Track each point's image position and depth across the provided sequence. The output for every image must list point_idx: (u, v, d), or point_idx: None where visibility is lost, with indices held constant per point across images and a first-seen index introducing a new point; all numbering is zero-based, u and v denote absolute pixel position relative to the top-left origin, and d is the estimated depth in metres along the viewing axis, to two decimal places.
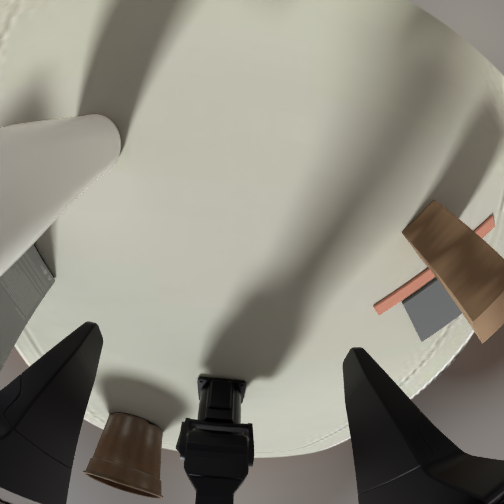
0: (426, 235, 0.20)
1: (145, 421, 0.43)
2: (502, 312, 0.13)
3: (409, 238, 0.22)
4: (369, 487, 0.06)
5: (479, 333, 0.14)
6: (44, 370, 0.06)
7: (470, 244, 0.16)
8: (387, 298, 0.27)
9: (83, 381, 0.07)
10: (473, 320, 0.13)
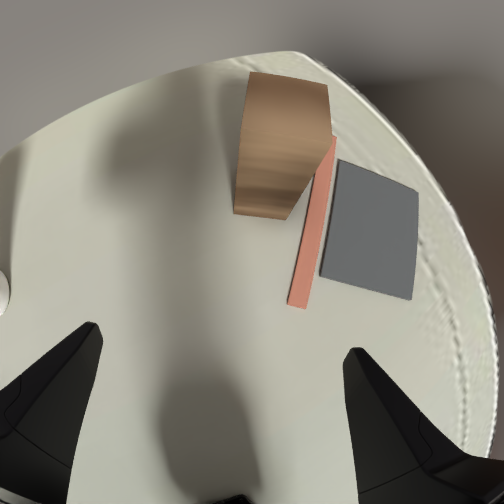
0: None
1: None
2: (296, 101, 0.13)
3: (234, 206, 0.23)
4: (370, 487, 0.06)
5: (290, 133, 0.13)
6: (44, 369, 0.06)
7: None
8: (292, 283, 0.23)
9: (83, 381, 0.07)
10: (241, 127, 0.12)
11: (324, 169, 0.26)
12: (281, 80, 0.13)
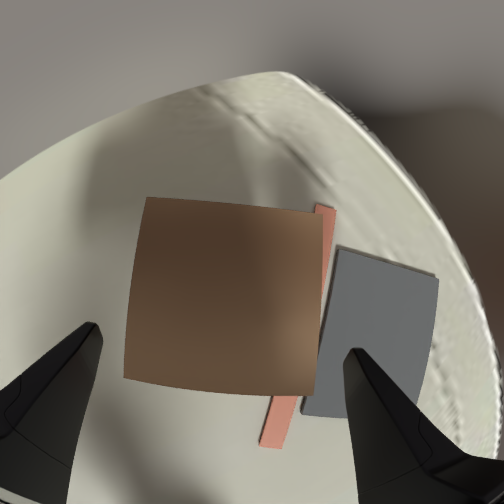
0: None
1: None
2: (242, 289, 0.06)
3: None
4: (369, 487, 0.06)
5: (223, 388, 0.06)
6: (44, 370, 0.06)
7: None
8: (265, 424, 0.16)
9: (83, 381, 0.07)
10: (125, 374, 0.06)
11: None
12: (214, 219, 0.07)
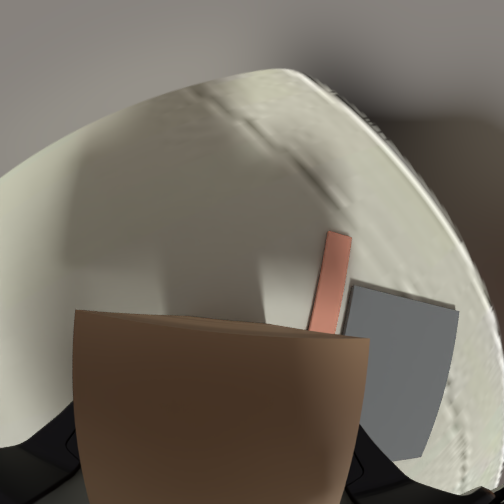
0: None
1: None
2: (236, 462, 0.03)
3: None
4: None
5: None
6: None
7: None
8: None
9: None
10: None
11: (327, 307, 0.16)
12: (186, 361, 0.04)
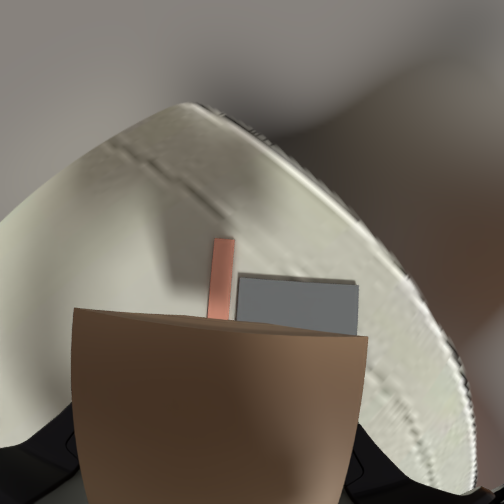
0: None
1: None
2: (234, 461, 0.03)
3: None
4: None
5: None
6: None
7: None
8: None
9: None
10: None
11: (219, 297, 0.21)
12: (184, 359, 0.04)
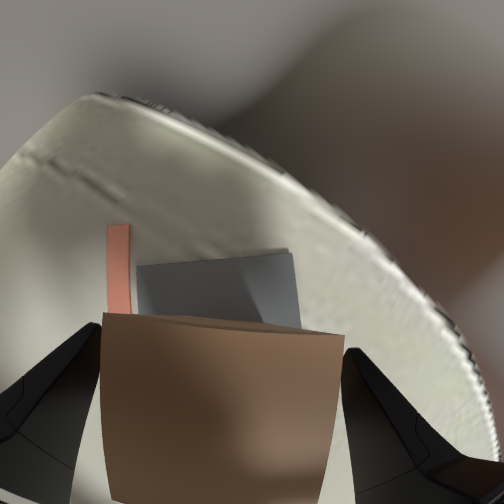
0: None
1: None
2: (235, 437, 0.04)
3: None
4: (366, 488, 0.06)
5: None
6: (47, 371, 0.06)
7: None
8: None
9: (86, 382, 0.07)
10: (113, 496, 0.04)
11: (118, 293, 0.16)
12: (195, 352, 0.05)
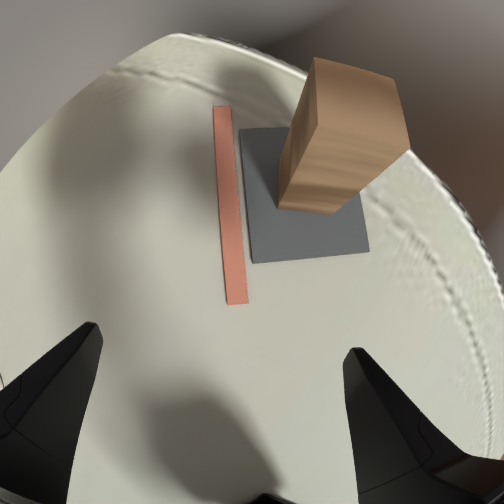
0: (283, 179, 0.20)
1: None
2: (368, 96, 0.11)
3: (279, 201, 0.21)
4: (369, 487, 0.06)
5: (370, 134, 0.10)
6: (44, 370, 0.06)
7: (295, 123, 0.16)
8: (225, 281, 0.21)
9: (83, 381, 0.07)
10: (318, 123, 0.10)
11: (224, 146, 0.23)
12: (349, 70, 0.11)
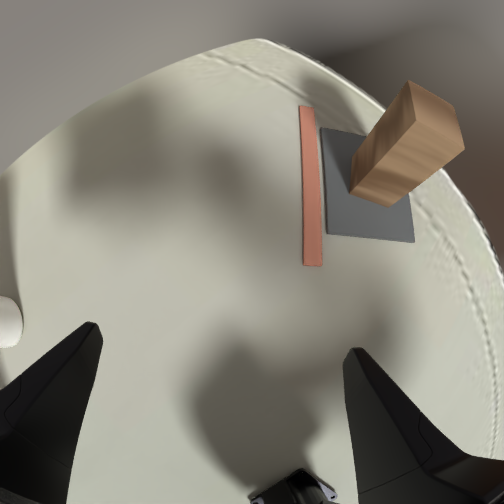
0: (361, 168, 0.23)
1: None
2: (440, 112, 0.14)
3: (354, 186, 0.24)
4: (369, 487, 0.06)
5: (443, 134, 0.14)
6: (44, 370, 0.06)
7: (381, 125, 0.19)
8: (304, 244, 0.24)
9: (83, 381, 0.07)
10: (416, 120, 0.14)
11: (309, 137, 0.27)
12: (428, 94, 0.15)
